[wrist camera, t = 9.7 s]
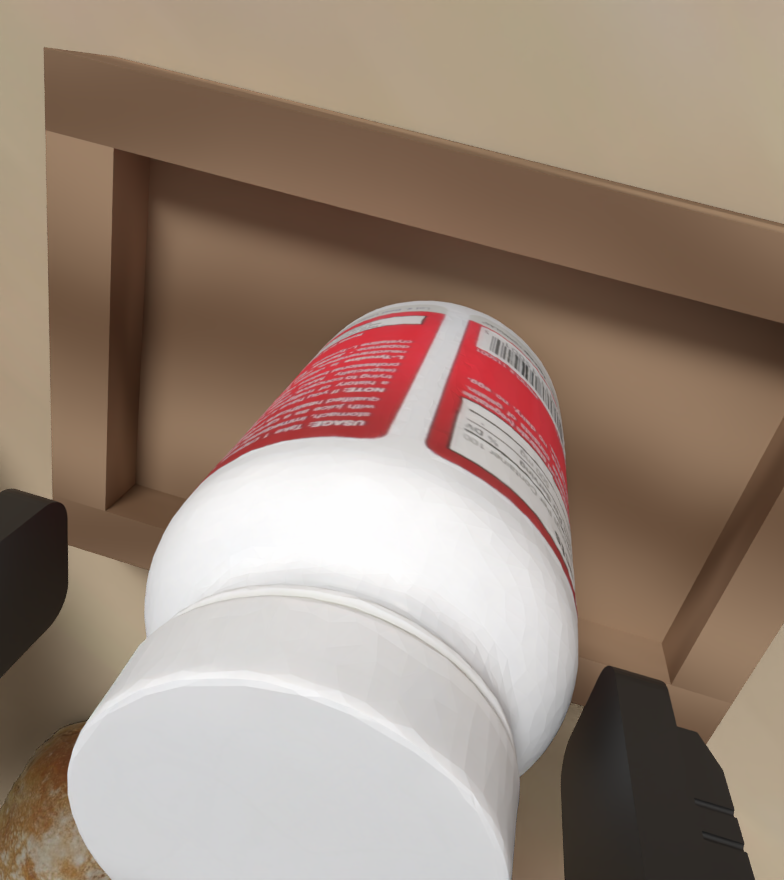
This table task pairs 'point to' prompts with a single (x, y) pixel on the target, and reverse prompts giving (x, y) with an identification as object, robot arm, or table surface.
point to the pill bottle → (351, 626)
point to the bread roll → (45, 819)
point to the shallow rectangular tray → (405, 280)
